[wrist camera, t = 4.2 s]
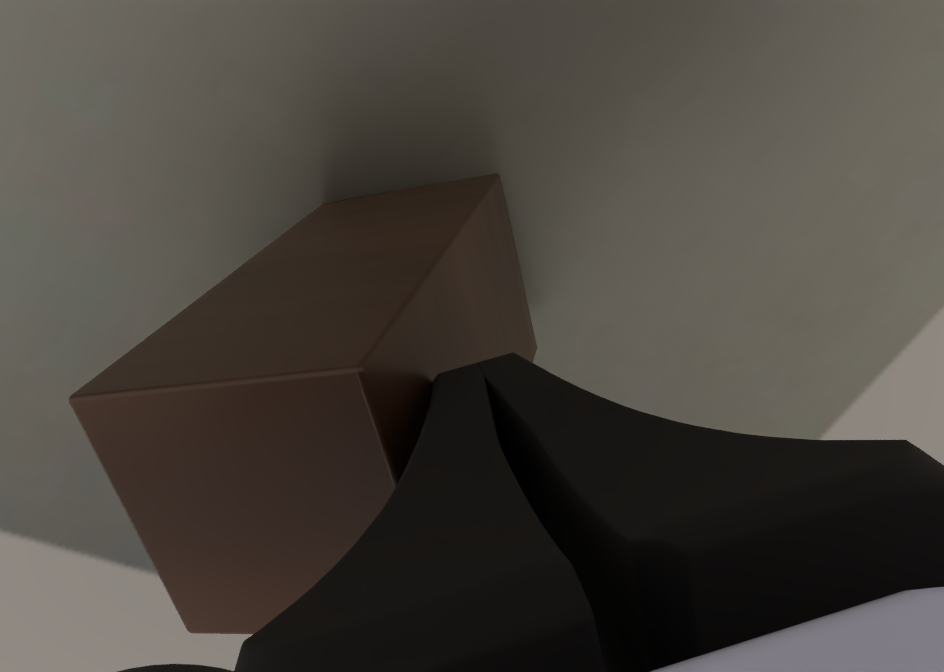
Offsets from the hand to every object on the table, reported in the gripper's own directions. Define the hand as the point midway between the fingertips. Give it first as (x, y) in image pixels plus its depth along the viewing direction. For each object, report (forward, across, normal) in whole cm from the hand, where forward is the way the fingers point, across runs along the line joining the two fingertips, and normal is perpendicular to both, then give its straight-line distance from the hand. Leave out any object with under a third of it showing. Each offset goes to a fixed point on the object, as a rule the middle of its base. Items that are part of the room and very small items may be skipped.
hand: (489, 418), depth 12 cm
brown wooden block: (+7, 0, 0) cm, 7 cm away
